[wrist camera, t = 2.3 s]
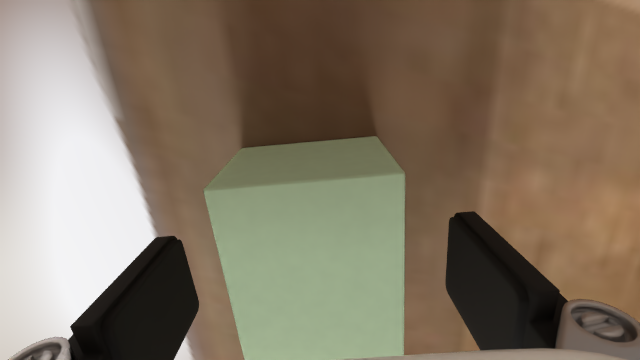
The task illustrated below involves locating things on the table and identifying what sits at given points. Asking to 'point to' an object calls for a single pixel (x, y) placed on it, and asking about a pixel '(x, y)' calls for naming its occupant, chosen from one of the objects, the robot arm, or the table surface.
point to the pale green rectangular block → (313, 249)
